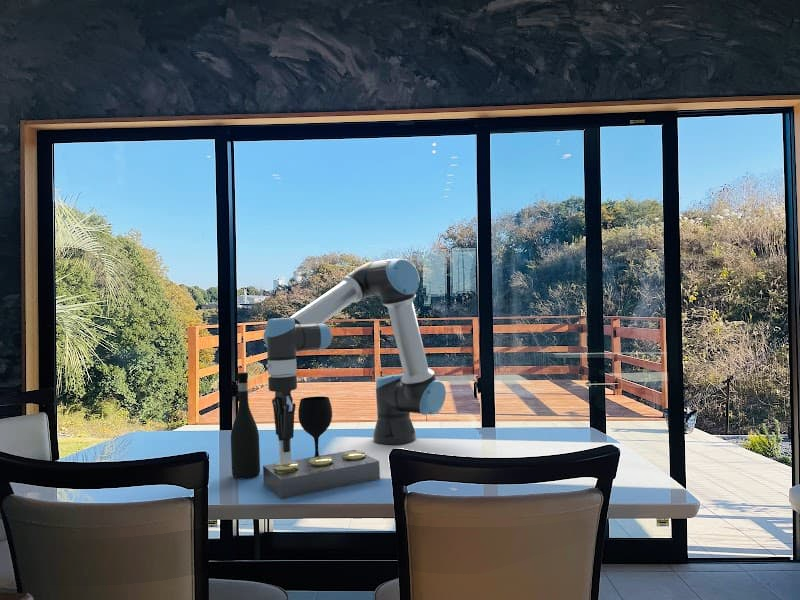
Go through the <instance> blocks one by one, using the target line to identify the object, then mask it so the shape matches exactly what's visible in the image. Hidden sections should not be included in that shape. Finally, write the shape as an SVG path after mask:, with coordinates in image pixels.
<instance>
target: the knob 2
mask: <svg viewBox="0 0 800 600" xmlns="http://www.w3.org/2000/svg"><path fill="white" fill-rule="evenodd" d="M350 451H351V450H350ZM365 455H366V453H365V452H364V451H363V450H362V451H361V450H357V451H351V452H346V453H344V454H343V459H344V460H348V461H353V460H360V459H363V458H365Z"/></svg>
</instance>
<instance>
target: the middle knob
mask: <svg viewBox="0 0 800 600" xmlns="http://www.w3.org/2000/svg"><path fill="white" fill-rule="evenodd" d="M320 456H321V457H315V456H313V457H314V458H311V459H310V460H309V464H310V465H311V466H314V467H320V466H326V465H330V464H332V463H333V458H332V457H327V456H322V455H320Z"/></svg>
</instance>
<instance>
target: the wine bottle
mask: <svg viewBox="0 0 800 600" xmlns="http://www.w3.org/2000/svg"><path fill="white" fill-rule="evenodd" d="M236 374H237V383H238V385H237V387H238V408H237V412H236V415H235V418H234V421H233V423H232V428H231V430H230V431H231V433H230V453H231V454H230V456H231V458H230V459H231V474H232V477H233V478H234V479H238V478H247V479H252V478H255V477H257V476H258V475H260V473H261V459H260V458H261V454H260V452H261V451H260V434H259V430H258V429H259V428H258V426H257V423H256V421H255V419H254V417H253V413H252V411H251V409H250V403H249V387H248V386H249V384H248V381H249V380H248V378H249V374H248V372H245V371H244V372H238V373H236Z"/></svg>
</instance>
